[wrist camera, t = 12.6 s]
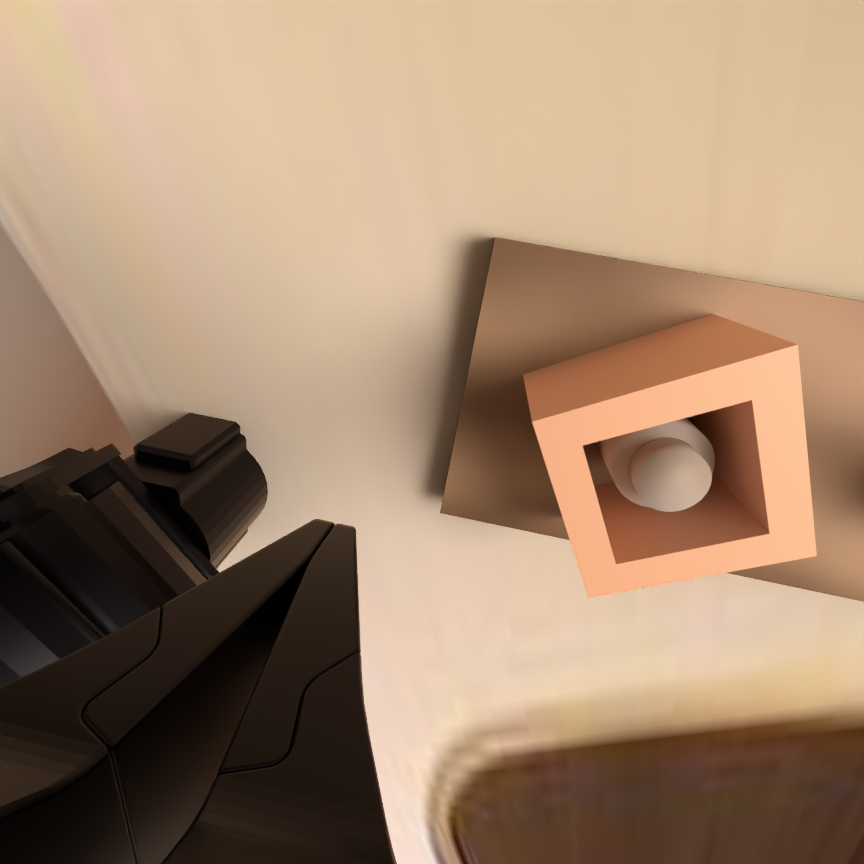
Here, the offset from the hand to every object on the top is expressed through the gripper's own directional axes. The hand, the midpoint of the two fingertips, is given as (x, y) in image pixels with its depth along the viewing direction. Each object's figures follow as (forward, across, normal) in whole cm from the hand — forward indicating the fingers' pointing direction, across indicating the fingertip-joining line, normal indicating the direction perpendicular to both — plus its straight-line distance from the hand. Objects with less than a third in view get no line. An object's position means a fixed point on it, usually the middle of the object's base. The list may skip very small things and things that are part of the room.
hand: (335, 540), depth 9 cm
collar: (+10, -9, 0) cm, 14 cm away
